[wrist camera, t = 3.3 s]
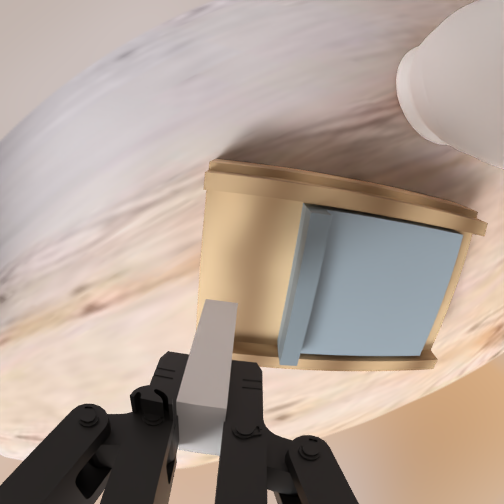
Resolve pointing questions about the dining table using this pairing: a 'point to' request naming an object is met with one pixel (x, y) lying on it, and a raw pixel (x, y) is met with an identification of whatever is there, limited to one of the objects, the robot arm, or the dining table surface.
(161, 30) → the dining table surface
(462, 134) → the jar
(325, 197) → the slide box
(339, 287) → the cover plate
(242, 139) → the dining table surface
